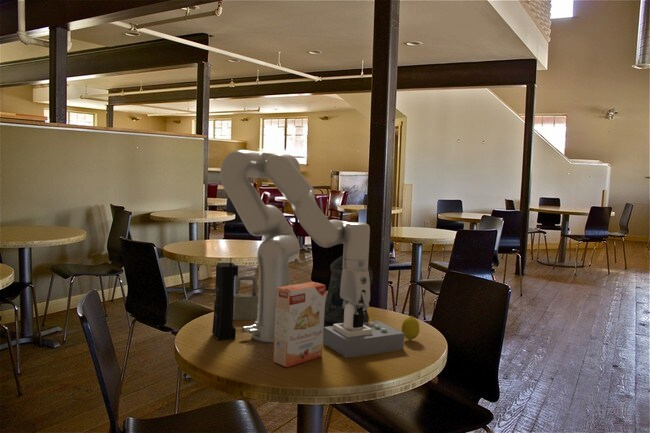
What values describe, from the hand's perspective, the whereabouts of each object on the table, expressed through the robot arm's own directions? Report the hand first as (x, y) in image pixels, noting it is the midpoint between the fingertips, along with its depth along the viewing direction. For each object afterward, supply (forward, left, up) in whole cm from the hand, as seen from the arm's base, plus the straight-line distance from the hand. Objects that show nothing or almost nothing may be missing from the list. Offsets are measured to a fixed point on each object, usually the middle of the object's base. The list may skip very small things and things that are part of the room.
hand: (352, 323), depth 157 cm
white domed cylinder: (0, 0, -1) cm, 1 cm away
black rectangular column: (-32, +24, -8) cm, 41 cm away
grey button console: (+4, 0, -7) cm, 8 cm away
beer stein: (+11, +22, -8) cm, 26 cm away
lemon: (+21, -1, -8) cm, 22 cm away
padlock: (-19, +40, -8) cm, 45 cm away
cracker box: (-19, -3, -8) cm, 21 cm away
